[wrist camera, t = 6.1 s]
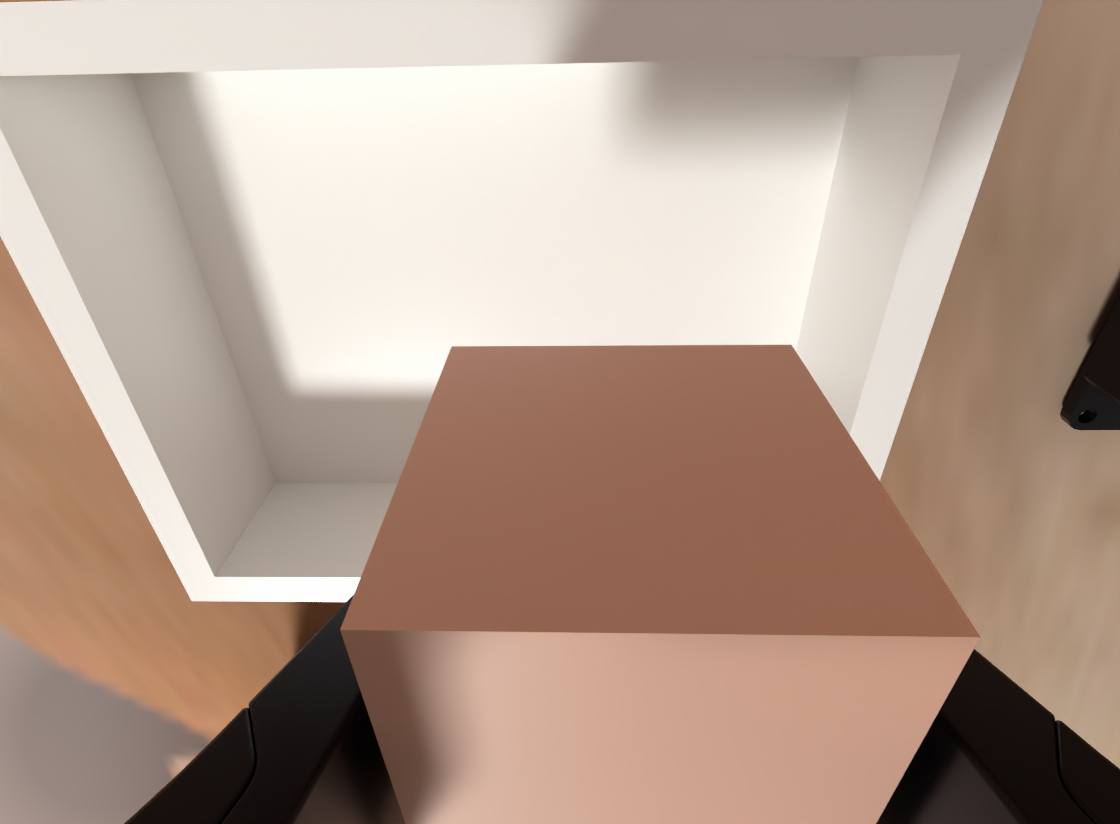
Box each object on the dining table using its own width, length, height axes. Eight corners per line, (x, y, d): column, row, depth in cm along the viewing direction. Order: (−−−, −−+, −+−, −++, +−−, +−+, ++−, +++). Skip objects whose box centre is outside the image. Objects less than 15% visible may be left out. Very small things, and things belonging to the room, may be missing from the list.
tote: (901, -12, 13) (1052, -26, 9) (784, 486, 21) (837, 605, 17) (92, 9, 14) (-121, 5, 10) (267, 486, 21) (191, 600, 17)
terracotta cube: (791, 344, 9) (980, 636, 5) (742, 580, 12) (834, 898, 7) (451, 346, 9) (339, 631, 5) (482, 578, 12) (426, 888, 8)
